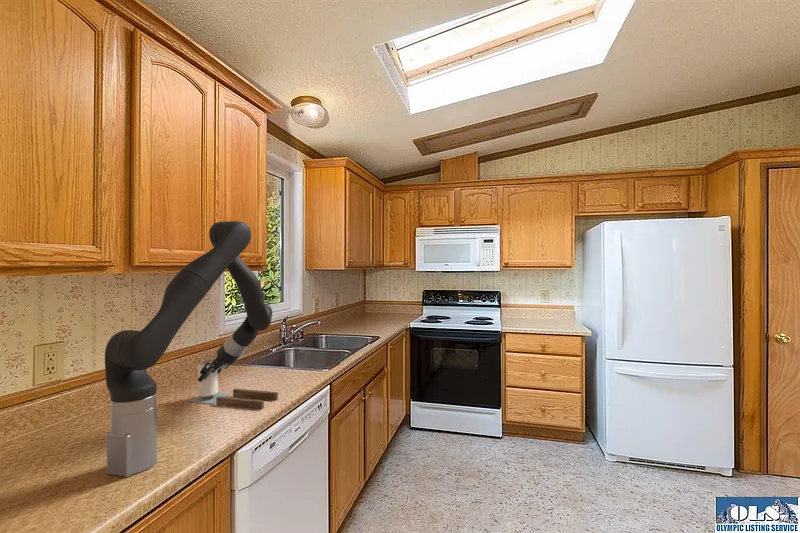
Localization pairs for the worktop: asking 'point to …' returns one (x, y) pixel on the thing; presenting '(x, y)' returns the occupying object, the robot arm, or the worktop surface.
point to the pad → (208, 398)
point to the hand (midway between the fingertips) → (206, 378)
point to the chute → (247, 402)
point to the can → (207, 382)
